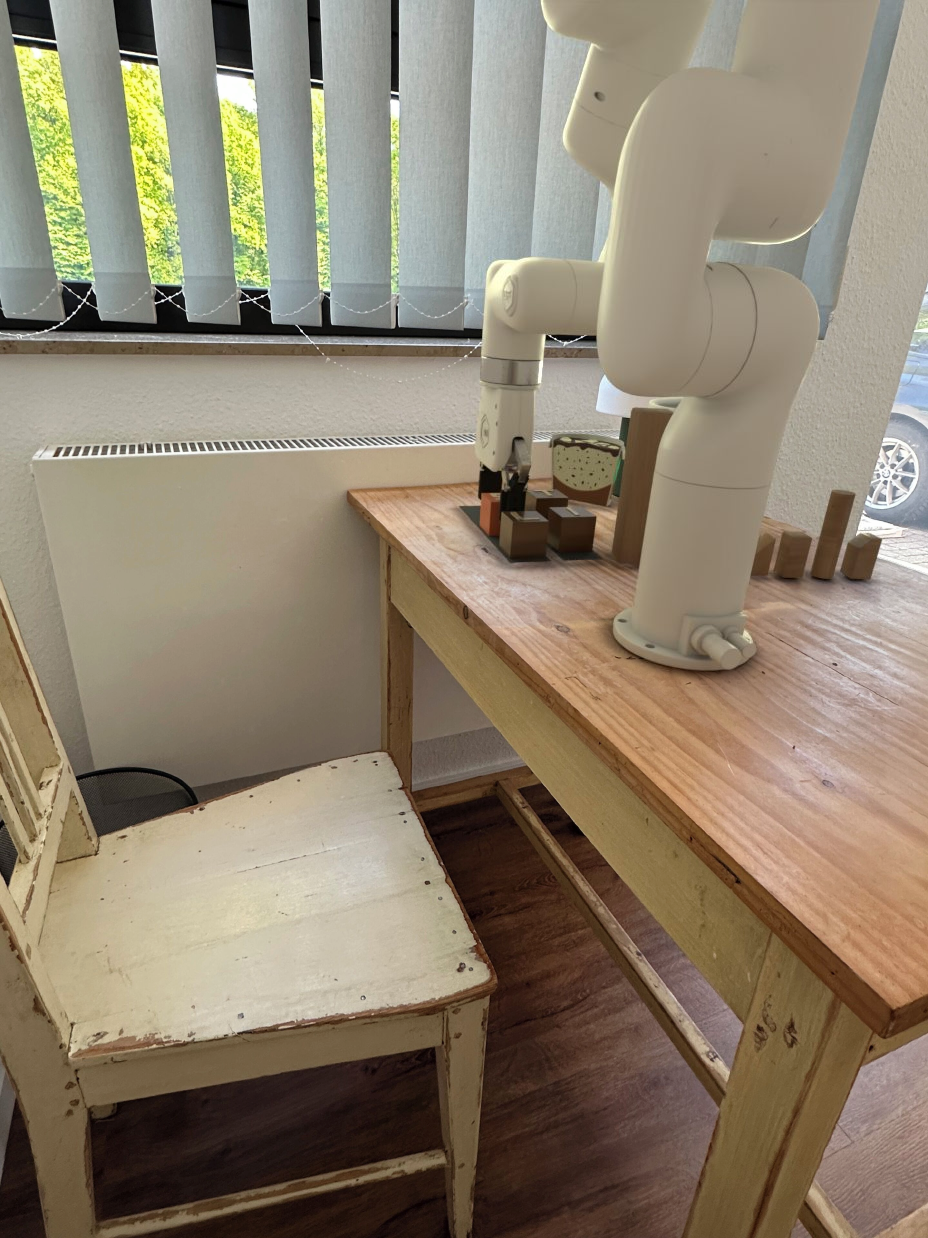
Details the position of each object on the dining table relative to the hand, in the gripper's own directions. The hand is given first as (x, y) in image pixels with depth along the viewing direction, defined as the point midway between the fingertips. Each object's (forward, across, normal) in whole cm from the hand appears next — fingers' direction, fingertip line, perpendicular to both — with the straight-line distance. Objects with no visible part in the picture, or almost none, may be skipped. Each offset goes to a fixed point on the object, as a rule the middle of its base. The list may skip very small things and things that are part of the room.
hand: (499, 509), depth 94 cm
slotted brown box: (+2, +8, +7) cm, 11 cm away
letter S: (+3, +1, 0) cm, 3 cm away
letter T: (+3, -1, +7) cm, 7 cm away
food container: (+4, -15, +19) cm, 25 cm away
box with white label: (+2, +10, 0) cm, 10 cm away
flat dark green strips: (+3, +1, +3) cm, 5 cm away
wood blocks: (+3, +20, +27) cm, 34 cm away
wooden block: (+3, +14, +15) cm, 21 cm away
